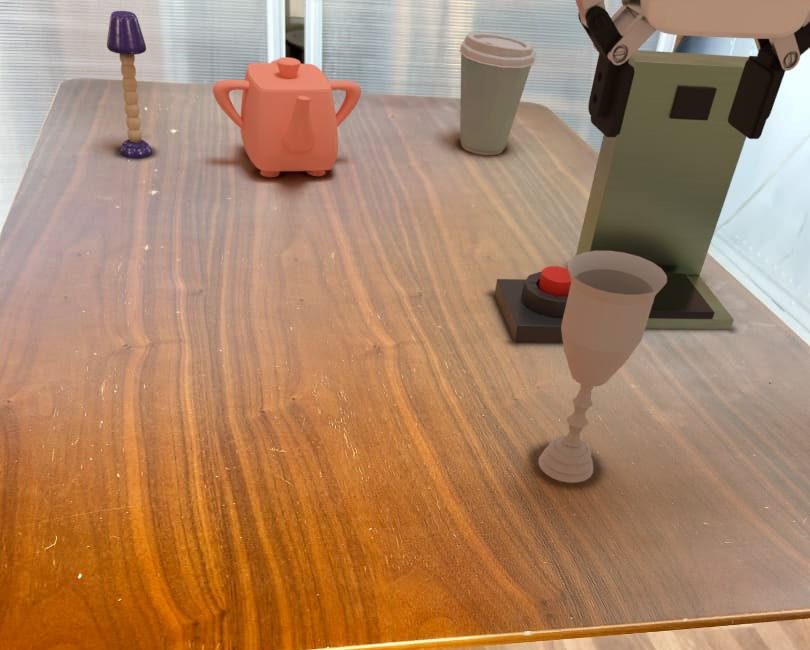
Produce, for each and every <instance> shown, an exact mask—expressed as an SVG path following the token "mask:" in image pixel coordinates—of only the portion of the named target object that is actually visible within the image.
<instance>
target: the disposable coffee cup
mask: <svg viewBox="0 0 810 650" xmlns="http://www.w3.org/2000/svg"><path fill="white" fill-rule="evenodd" d="M458 52H459V53H460V112H459V113H460V115H459V116H460V117H459V118H460V125H459V128H460V129H459V141H460V143H461V144H460V145H461V147H462V148H463V149H464V150H465V151H467V152H469V153H472V154H475V155H482V156H496V155H499V154H502V153H503V151H504V150H505V148H506V145H507V143H508V139H509V136H510V133H511V130H512V127H513V123H514V121H515V119H516V118H515V117H516V115H517V111H518V108H519V105H520V103H521V99H522V95H523V93H524V90H525V87H526V83H527V81H528V78H529V77H528V76H529V74H530V71H531V69H532V66H534V64H535V62H536V51H535V50H534V46H533V45H532V44H530V43H529V42H527V41H526V40H523V39H520V38H517V37H513V36H510V35H504V34H499V33H492V32H479V31H478V32H469V33H467V35H465V38H464V39H463V40H462V42H461V44H460V48H459V51H458Z"/></svg>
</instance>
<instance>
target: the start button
mask: <svg viewBox="0 0 810 650" xmlns="http://www.w3.org/2000/svg"><path fill="white" fill-rule="evenodd" d="M540 272H541V277H540V282H539V289H540V290H541V291H543V292H545V293H547V294H551V295H554V296H568V294H569V290H570V286H571V278H570V274H569V271H568V267H567V268H566V267H563V266H560V265H559V266H558V265H552V266H551V265H550V266H546V267H544V268H543V269H542V270H541V271H540Z"/></svg>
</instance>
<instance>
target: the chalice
mask: <svg viewBox="0 0 810 650" xmlns="http://www.w3.org/2000/svg"><path fill="white" fill-rule="evenodd" d="M567 269H568V271H569V274H570V278H571V286H570V290H569V294H568V299H567V303H566V307H565V312H564V316H563V320H562V326H561V331H562V339H563V343H562V347H563V351H564V355H565V358H566V362H567V365H568V369H569V371H570V375H571V377H572V379H573V380H574V381H575V382H576V383H578V384H580V388H579V391H578V393H577V395H576V396H575V397H574V398H573V399H572V404H573V408H574V410H573V412H572V414H571V415H569V416H567V418H566V422H567V424H568V433H567V434H566V435H562V436H558V437H557V438H555V439H553V440H551V441H550V442H549V444H547V447H545V448H544V450H543V451H542V453H541V454H540V456H539V457H538V466H539V468H540V469H541V471H542V472H543V473H544V474H545V475H547V476H548V477H550V479H551V478H552V479H554V480H556V481H559V482H564V483H572V484H573V483H580V482H584V481H587V480H588V479H589V478H591V477H592V475H593V473H594V461H593V460H594V459H593V458H592V452H591V449H590V447H589V446H588V445H587V443H585V441H584V440H582V439H581V433H582V431H583V428H586V427H587V426H589V420H588V419H587V418H586V417H587V415H586V414H587V411H588V409H590V408H592V406H593V405H594V403H593V401H592V391H593V389H594V387H600V386H603V385H605V384H606V383H607V382H609V380H611V378H612V377H613V376H614V375H615V374H616V373H618V371H619V370H620V369H621V368H622V367H623V366H624V365H625V364H626V363H627V361H628V360H629V358H630V357H631V356H632V354H633V353H634V351H635V350H636V349H637V347H638V346H639V345H640V343H641V342H642V340H643V338H644V333H645V331H646V329H645V327H646V324H647V321H648V317H649V314H650V311H651V307H652V304H653V301H654V298H655V295H656V294H657V293H658V292H659V291H660V290H661V289H662V288H663V286H664V285H665V284H666V283H667V275H666V274H665V273H664V271H663V270H662V269H661V268H660V267H658V266H657V265H656V264H654V263H653V262H651V261H648V260H646V259H644V258H641V257H639V256H635V255H631V254H628V253H623V252H615V251H591V252H584V253H581V254H579V255H576V254H575V255H574V256H573V257H571V258H570V259H569V261H568V264H567Z"/></svg>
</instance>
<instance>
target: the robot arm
mask: <svg viewBox="0 0 810 650" xmlns="http://www.w3.org/2000/svg"><path fill="white" fill-rule="evenodd" d="M575 4H576V7H577V9H578V14H577V15H578V20H579V22H580V24H581V26H582V28H583V29H584V31H585V33H586V34H587V35H588V38H589V39H590V40H591V43H592V46H593V48H594V50H595V51H596V52H598V57H597V61H596V66H595V71H594V74H593V75H594V76H593V81H592V85H591V89H590V94H589V98H588V104H587V105H588V113H589V115H590V122H591V124H592V125H593V126H594V127H595V128H596V129H597V130H599V132H601V134H603V135H605V136H606V137H616V136H617V135H619V134H620V131H621V127H622V123H623V119H624V114H625V110H626V106H627V102H628V98H629V94H630V90H631V86H632V82H633V77H634V72H635V70H634V67H633V66H631V65H630V64H629V63H628V62H629V58H630V57H631V56H632V55H633V54H634V53H635V52H636V51H637V50H640V48H641V47H642V45H644V44H645V43H646V42H647V40H648V39H650V37H651V36H652V35H654V33H655V32H656V31H658V32H661V33H663V34H667V35H671V36H673V35H674V36H683V37H684V36H685V37H686V36H687V37H706V38H707V37H708V38H732V39H753V40H754V43H755V46H756V49H757V54H756V55H749V56H748V57H749V59H748V60H747V61H746V63H745V66H744V69H743V72H742V76H741V79H740V82H739V85H738V88H737V91H736V94H735V97H734V101H733V104H732V107H731V110H730V113H729V116H728V123H729V124H730V125H731V126H733V127H734V128H735V129H737V130H738V131H739V132H741V133H742V134H743V135H745V136H746V139H747V138H748V139H749V140H758V139H760V138H761V136H762V134H763V131H764V128H765V126H766V122H767V120H768V119H769V118H770V116H771V113H772V111H773V108H774V105H775V103H776V99H777V97H778V93H779V91H780V88H781V85H782V82H783V79H784V77H785V73H786V71H791V70H793V69H794V68H795V67H797V65H798V64H799V62H800V59H801V56H802V55H803V54H804V53H806V52H807V51H808V50H809V49H810V0H621V4H622V5H621V7H620V8H618V10H617V11H616V12H615V13H614V14H613V15H612V16H610V14H609V12H608V11H607V10H606V5H605V0H575Z"/></svg>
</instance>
